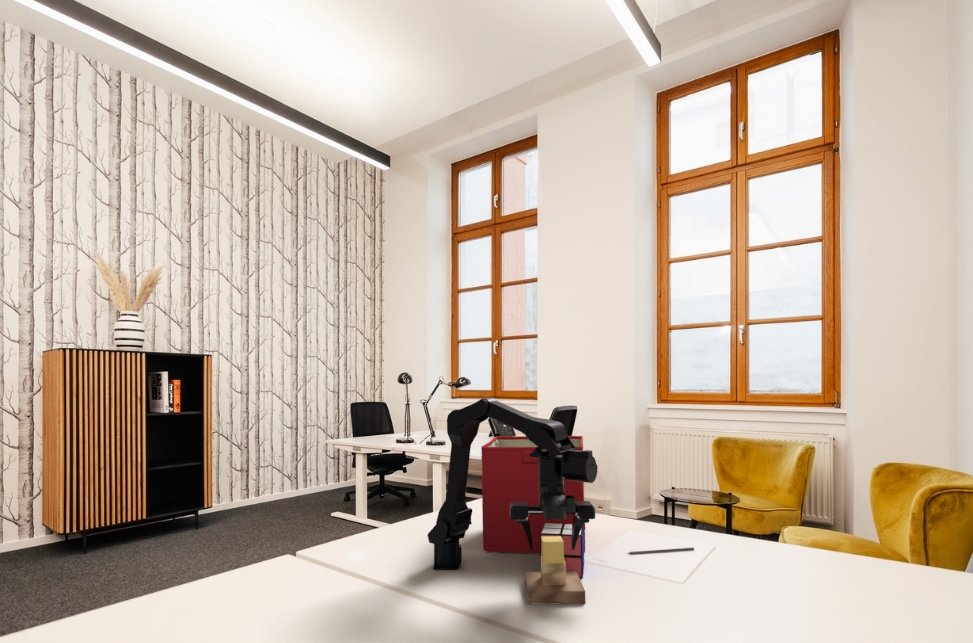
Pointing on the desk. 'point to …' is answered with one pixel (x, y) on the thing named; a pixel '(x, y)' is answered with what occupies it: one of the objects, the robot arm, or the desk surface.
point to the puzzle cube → (568, 545)
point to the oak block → (553, 573)
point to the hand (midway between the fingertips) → (552, 549)
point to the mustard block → (552, 549)
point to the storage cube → (516, 493)
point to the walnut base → (554, 589)
